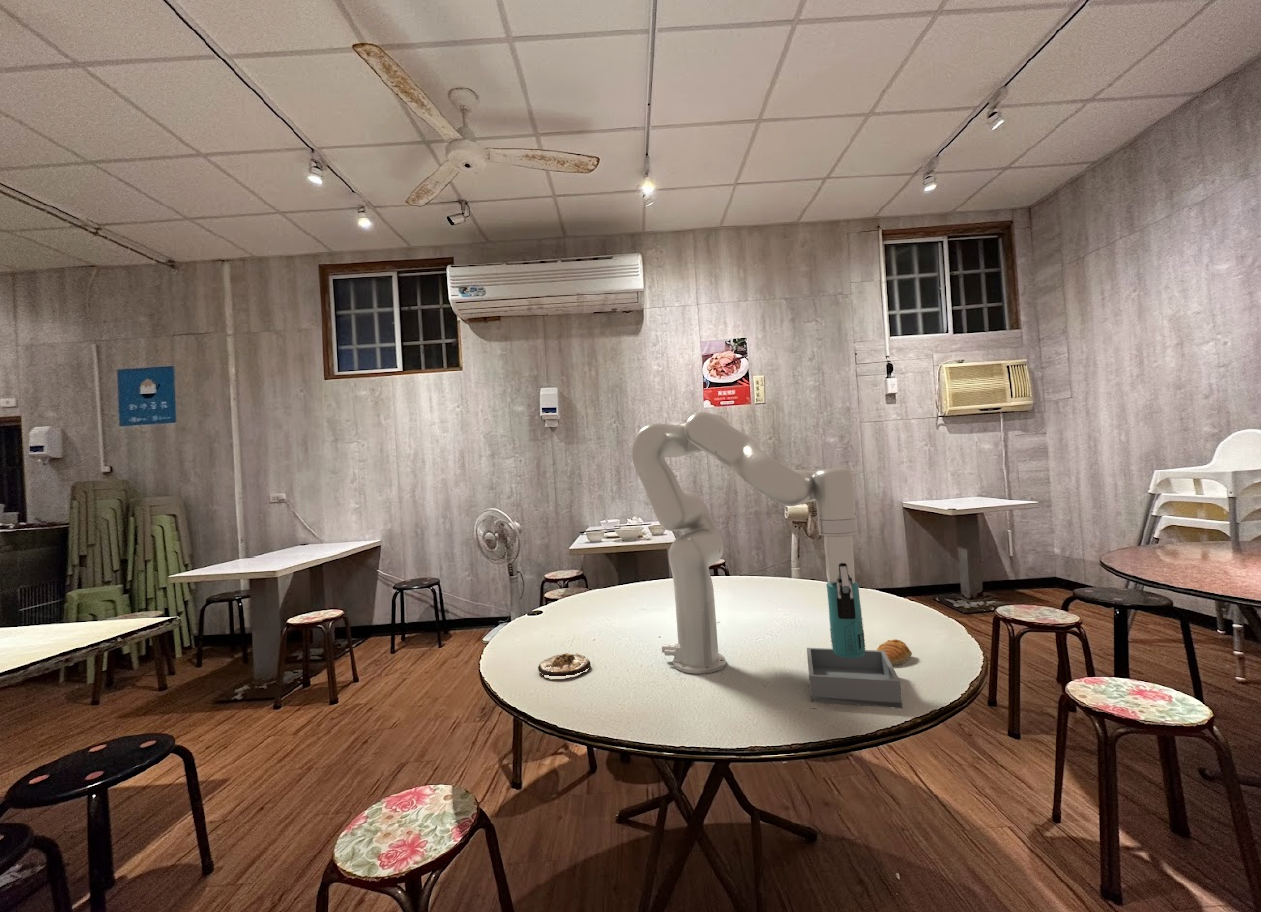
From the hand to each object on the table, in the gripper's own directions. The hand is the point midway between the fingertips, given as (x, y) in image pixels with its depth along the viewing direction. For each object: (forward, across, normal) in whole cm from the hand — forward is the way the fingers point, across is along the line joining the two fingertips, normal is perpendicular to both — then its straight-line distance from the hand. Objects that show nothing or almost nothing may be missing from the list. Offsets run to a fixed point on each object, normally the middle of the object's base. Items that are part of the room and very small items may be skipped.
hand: (844, 612), depth 103 cm
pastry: (+16, -18, +11) cm, 26 cm away
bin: (+15, 0, 0) cm, 15 cm away
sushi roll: (+16, 0, -65) cm, 67 cm away
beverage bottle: (+10, 0, 0) cm, 10 cm away
